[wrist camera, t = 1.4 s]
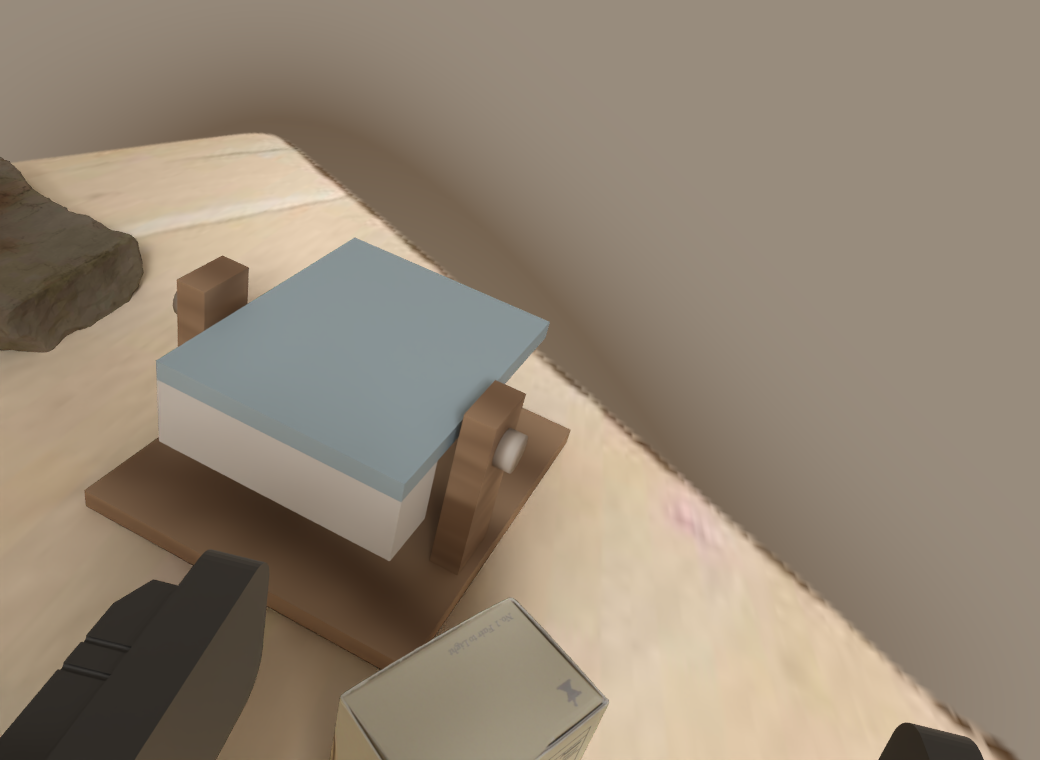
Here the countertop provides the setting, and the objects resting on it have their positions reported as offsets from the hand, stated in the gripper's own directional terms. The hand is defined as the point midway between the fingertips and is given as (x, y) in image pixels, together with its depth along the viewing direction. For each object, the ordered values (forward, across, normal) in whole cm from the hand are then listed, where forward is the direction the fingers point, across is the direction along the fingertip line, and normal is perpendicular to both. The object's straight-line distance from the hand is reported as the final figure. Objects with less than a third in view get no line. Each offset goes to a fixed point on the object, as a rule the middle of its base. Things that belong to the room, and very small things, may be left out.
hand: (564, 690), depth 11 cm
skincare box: (+11, +1, +21) cm, 24 cm away
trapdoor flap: (+29, +9, +14) cm, 33 cm away
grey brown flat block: (+37, +34, +16) cm, 53 cm away
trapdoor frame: (+30, +10, +18) cm, 36 cm away
